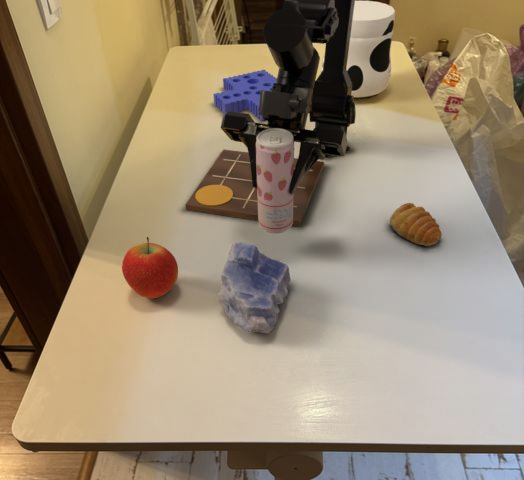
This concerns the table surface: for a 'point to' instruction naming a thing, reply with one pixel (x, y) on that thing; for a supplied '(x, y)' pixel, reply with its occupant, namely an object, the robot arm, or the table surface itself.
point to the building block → (244, 92)
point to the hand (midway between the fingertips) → (272, 190)
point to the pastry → (415, 225)
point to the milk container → (370, 48)
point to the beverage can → (275, 179)
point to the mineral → (253, 288)
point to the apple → (150, 269)
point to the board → (244, 189)
